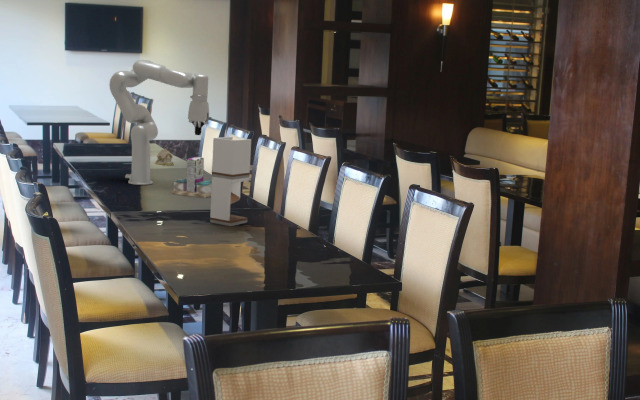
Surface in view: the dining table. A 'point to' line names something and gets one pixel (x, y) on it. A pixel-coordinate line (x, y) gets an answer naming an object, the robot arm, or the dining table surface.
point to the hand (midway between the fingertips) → (197, 134)
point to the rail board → (202, 191)
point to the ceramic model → (164, 158)
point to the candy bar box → (194, 173)
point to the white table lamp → (228, 178)
